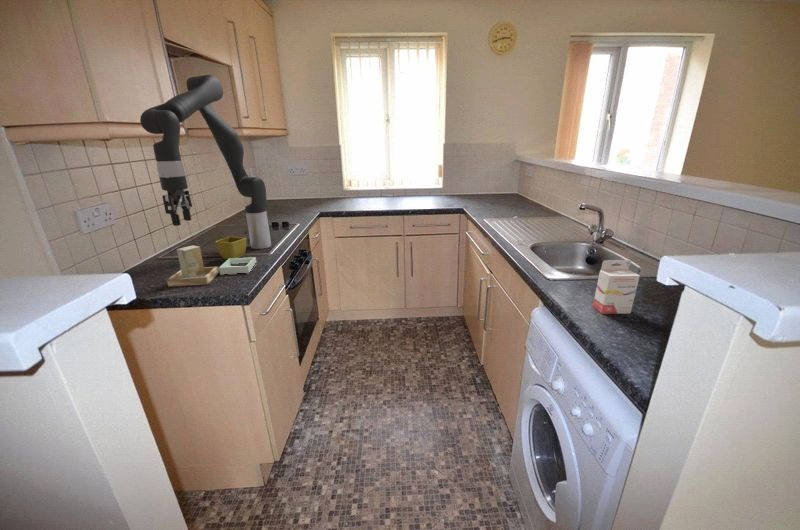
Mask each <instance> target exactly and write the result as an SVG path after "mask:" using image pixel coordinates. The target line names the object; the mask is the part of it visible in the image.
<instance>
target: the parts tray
mask: <svg viewBox="0 0 800 530" xmlns="http://www.w3.org/2000/svg"><path fill="white" fill-rule="evenodd" d="M239 263H248V264H247V265H246V266H231V264H239ZM255 263H257V257H256V256H255V257H254V256H253V257H243V258H230V259H228V260H225V261H224V262H223V263H222V264H221V265H220V266H218V268H219V275H220V276H224V274H228V275H238V274H237V273H246V274H250V273H251V272H250V271H252V270H253V269H254V268H253V266H254V265H255ZM255 266H256V265H255ZM255 266H254V267H255ZM252 268H253V269H252ZM251 269H252V270H251ZM249 272H250V273H249Z"/></svg>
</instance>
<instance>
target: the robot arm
mask: <svg viewBox="0 0 800 530" xmlns="http://www.w3.org/2000/svg"><path fill="white" fill-rule="evenodd" d="M186 88H187V91H185V92H182V93H179V94H177V95H175V96H173V97H171V98H170V99H168V100H167V101H166V102H164V103H162V104H157V105H155V106H153V107H150V108H147V109H145V110H144V111H143V112H142V113H141V115H140V118H139V119H140V120H139V122H140V125H141V127H142V129H143V130H144V131H146V132H148V133H150V134H153V135H162V140H161V141H157V142H155V143H153V145H152V147H153V153H154V157H155V161H156V169H157V170H156V171H157V173H158V174H157V175H158V178H159V182H160V186H161V190H163V191H166V193H167V194H163V195H162V201H163V206H164V210H165V211H164V212H165V214H167V215H169V216H170V217H171V218H170V219H171V222H172V225H173V226H174V227H177V226H180V225H182V224H181V223H182V222H181V220H180V214H179V211H180V210H179V209H181V211H182V216H183V220H184V221H186V222H188V221H191V220H192V215H191V208H192V207H193V204H192V203H193V202H192V200H191V199H192V198H191V196H190V191H189V190H187V189H188V188H189V187H188V181H187V177H186V171H185V168H184V165H183V162H182V158H181V153H180V136H181V123H183V122H184V121H186V120H187V119H189V118H190V117H191V116H192V115H193V114H195V113H197V111H199V113H200V115H201V116H202V118H203V119H204V121H205V123H206V125H207V127H208V128H209V131H210V133H211V134H212V136H213V138H214V140H215V143H216V145H217V146H218V149H219V151H220V152H221V155H222V156H223V158H224V161H225V162H226V164H227V167H228V168H229V171H230V173H231V176H232V178H233V181H234V183H235V186H236V188H237V191H238V192H239V194H240V195H241V196H243V197H245V198H251V201H250V203H249V204H248V205H246V206H245V207H244V209H245V216H246V223H247V228H248V236H249V241H250V247H251V249H254V250H260V249H262V250H263V249H267V248H270V247H272V242H271V240H272V239H271V234H270V227H269V226H270V225H269V220H268V212H267V204H268V200H267V199H268V198H267V188H266V184H265V182H264V179H262V178H261V177H258V176H249V175H248V174H247V172H246V169H245V167H244V153H245V152H244V150H245V149H244V145H243V143H242V141H241V138H240V136H239V135H238V132H237V131H236V130H235V129H234V128H233V126H232V125H230V124H229V123H228V122H227V121H225V120H224V119H223V118H222V117H221V116H220V115H219V114H218V113H217V112H216V110H215V109H214V107H213V106H212V103H215V102H218V101H220V100H221V99H222V98H223V97H224V96H223V95H224V88H223V85H222V84H221V81H220V80H219V79H218V78H217V77H216V76H215V75H212V74H203V75H197V76H191V77H188V78H187V79H186Z"/></svg>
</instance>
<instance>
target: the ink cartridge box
mask: <svg viewBox="0 0 800 530" xmlns="http://www.w3.org/2000/svg"><path fill="white" fill-rule="evenodd" d="M631 263H632V261H631V259H613V260H611V259H608V260H603V261H602V263H601V268H600V270H599V274H598V280H597V284H596V289H595V293H594V299H593V303H592V307H593V308H594V310H596V311H598V312H599V313H601V315H608V314H609V315H611V314H612V315H614V314H615V315H616V314H622V315H623V314H625V315H626V314H627V315H628V314H631V313H632V308H633V304H634V301H635V296H636V292H637V290H638V284H639V281H640V277H641V275H640V274H637V273H635V272H633V271H632V270H630V266H631ZM615 264H617V265H615Z"/></svg>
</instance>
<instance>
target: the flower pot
mask: <svg viewBox="0 0 800 530" xmlns="http://www.w3.org/2000/svg"><path fill="white" fill-rule="evenodd" d="M214 243H215V245H216V247H217V251H218V253H219V255H220V256H221V257H222V258H223V259H224V260H225V259H230V258H239V257H240V256H242V255H244V256H245V254H246V250H247V237H240V236H239V237H238V236H227V237H224V238H221V239H218V240H216V241H215V242H214Z"/></svg>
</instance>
